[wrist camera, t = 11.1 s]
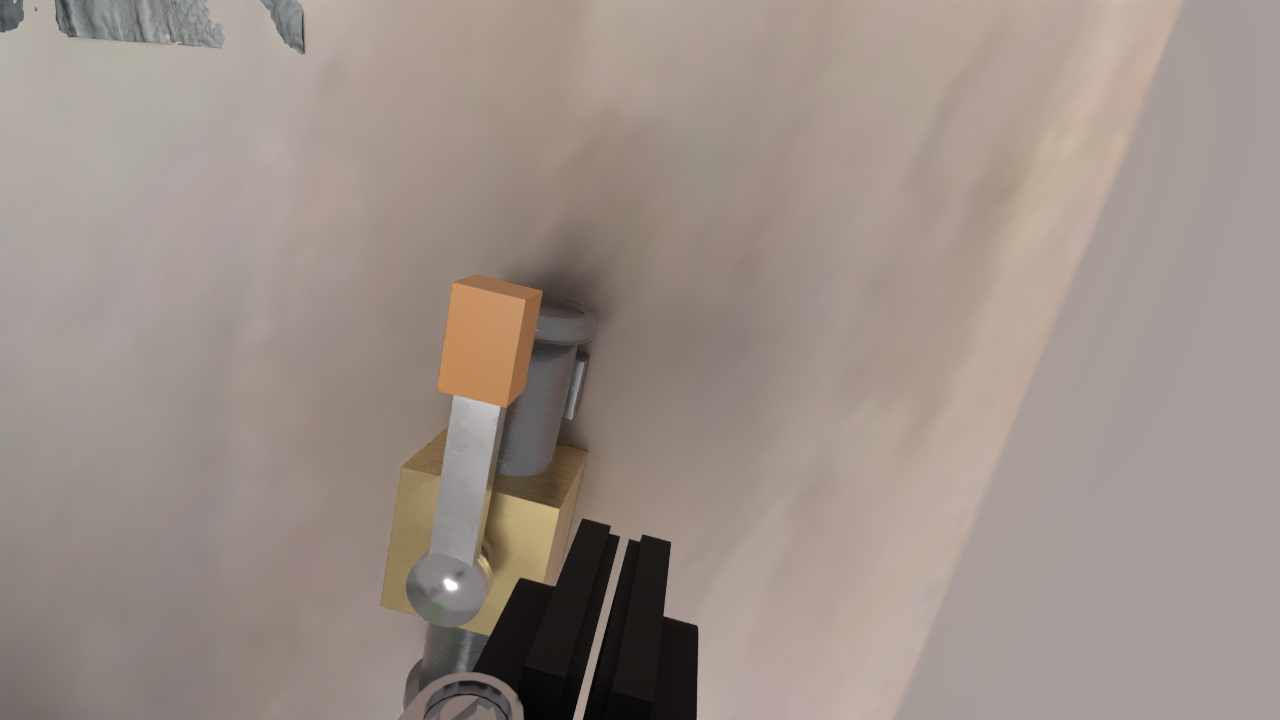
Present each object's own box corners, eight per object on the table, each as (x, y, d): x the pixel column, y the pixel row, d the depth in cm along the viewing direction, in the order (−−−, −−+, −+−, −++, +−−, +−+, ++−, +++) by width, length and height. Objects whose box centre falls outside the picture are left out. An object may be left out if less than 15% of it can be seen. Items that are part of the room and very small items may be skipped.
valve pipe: (534, 679, 38) (492, 795, 30) (418, 647, 38) (348, 754, 31) (620, 312, 32) (593, 345, 25) (483, 278, 32) (417, 300, 25)
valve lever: (490, 608, 28) (471, 645, 26) (420, 590, 28) (394, 624, 26) (550, 292, 25) (533, 301, 22) (469, 273, 25) (444, 280, 23)
